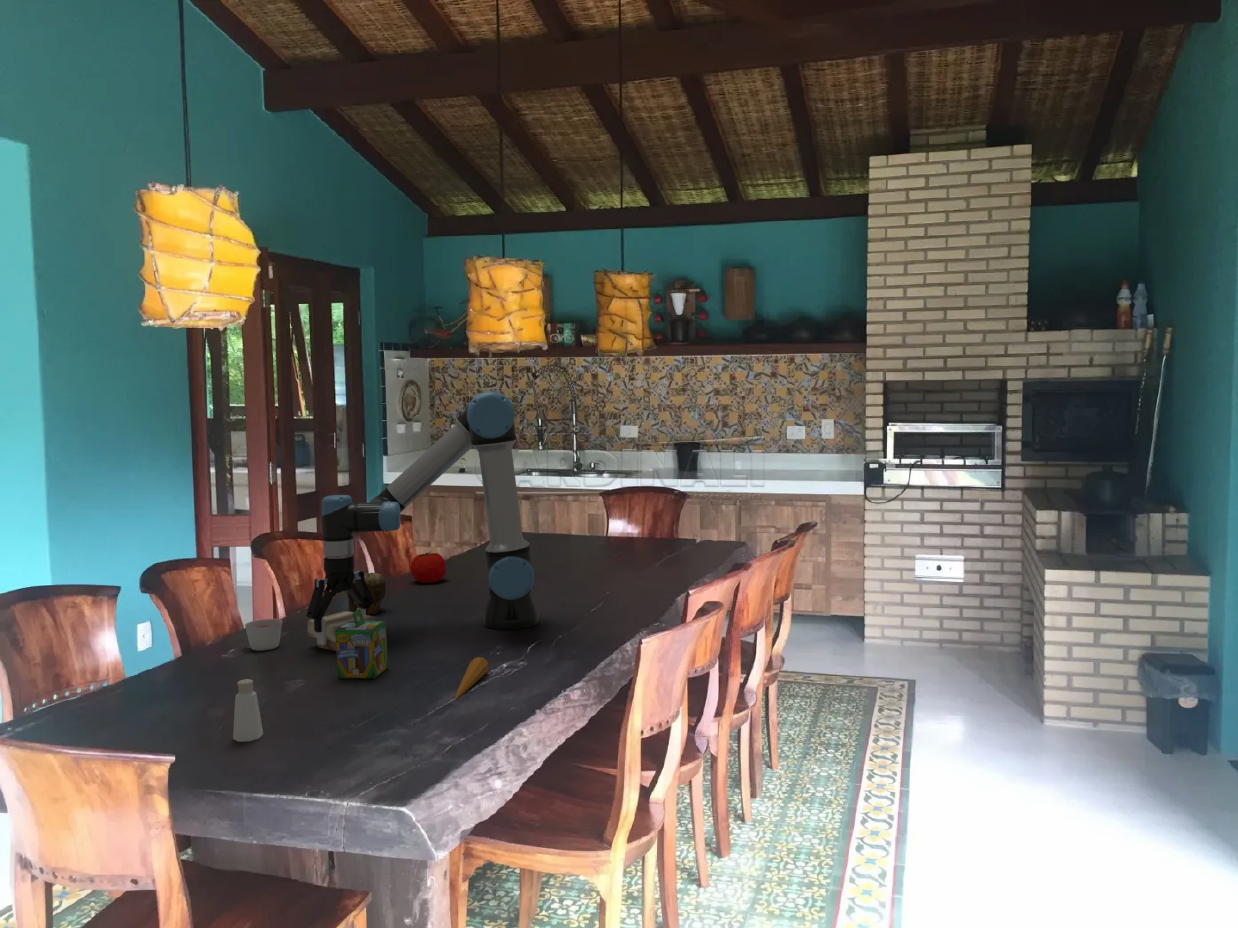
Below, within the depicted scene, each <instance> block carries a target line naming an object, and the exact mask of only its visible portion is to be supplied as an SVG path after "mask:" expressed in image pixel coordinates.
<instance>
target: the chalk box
mask: <svg viewBox="0 0 1238 928" xmlns="http://www.w3.org/2000/svg"><path fill="white" fill-rule="evenodd" d="M357 615H359V616H360V621H357ZM353 618H354V621H349V622H347V623H345V624H344V625H342V626H340V627H339V628H337V629H336V630H335V636H336V651H335V653H336V667H337V679H338V680H339V679H374V680H375V679H376V678H377V677H378V676H380V675H381V674H383V672H385V671H386V670H387V669H388V668H389V666H388V663H389V662H388V645H387V643H388V642H387V622H386V621H383V620H382V621H381V620H376V621H364V619H363V615H362V613H361V610H360V609H358V610H357V611H355V612H354V613H353Z"/></svg>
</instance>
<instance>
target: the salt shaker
mask: <svg viewBox="0 0 1238 928" xmlns="http://www.w3.org/2000/svg"><path fill="white" fill-rule="evenodd" d="M236 684H237V690H238V693H237V694H236V695H235V699H234V715H233V716H234V717H233V735H232V736H233V737H232V739H233V740H234V741H236V742H238V743H240V742H241V743H243V742H253V741H255V740H259V739H261V737H262V736H263V735H264V730H263V725H262V719H261V713H260V706H259V700H258V695H257V692H256V691H254V685H253V684H254V680H253V679H250V678H246V679H241V680H239V681H238V682H237V683H236Z"/></svg>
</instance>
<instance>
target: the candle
mask: <svg viewBox="0 0 1238 928" xmlns="http://www.w3.org/2000/svg"><path fill="white" fill-rule="evenodd" d="M282 626H283V620H282V619H278V618H264V619H263V618H262V619H256V620H252V621H249V622H247V623H245V624H244V628H245V631H246V635H247V640H248V643H249V647H250V649H251V650H253V651H258V652H259V651H269V650H273V649H276V648H278V647H279V645H280V641H281V633H282Z"/></svg>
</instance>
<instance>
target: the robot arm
mask: <svg viewBox="0 0 1238 928" xmlns="http://www.w3.org/2000/svg"><path fill="white" fill-rule="evenodd" d="M516 442H517V434H516V425H515V409H514V406H513V404H512V402H511V400H510V399H509V398H508V397H507V396H506V395H505V394H504V393H501V392H499V391H495V390H486V391H483V392H482V391H481V392H480V393H477V395H475V396H474V397H473V398H472V399H471V400H470V402H469V404H468V406H466V408H465V410H464V411H463V412H462V413H461V414H460V415H458V417H457V418H456V419H455V424H454V426H452V427H451V428H450V429H449V430H448V431H447V432H446V433H445V434H443V436H441V437H440V438H439V439H438V440H437V441H436V442H435V443H433V444H432V445H431V446H430V447H429V448H428V449H427V450H426V451H425V452H424V453H422V454H421V456H419V457H418V458H417V459H416V460H415V461H414V462H413V463H412V464H410V465H409V466H408V467H407V468H406V469H405V470H404V471H403V472H402V473H400V474H399V475H398V477H396V478H395V479H394V480H393V481H392V482H391V483H389V484H388V486H386V487H385V488H384V489H382V491H381V492H380V493H379V494H378V495H376V496H375V497H374V498H372V499H371V500H370V502H353V499H352V497H351V495H349V494H334V495H327V496H324V497H323V498H322V499H321V514H320V516H321V530H322V551H323V553H322V554H323V556H325V557H324V558H323V571H324V573H325V576H324V578H322V579H320V578H315V579H314V584H313V585H314V588H313V592H312V596H311V598H310V600H309V601H310V602H309V605H308V609H307V612H306V618H308V619H311V620H312V619H313V620H314V630H315V632H317V638H316V645H317V644H321V645H326V625H325V619H322V618H323V617H324V616H325V614H326V612H327V611H328V608H329V606H330V604H331V602H332V600H333V598H334V597H335V596H336V595H337V594H340V593H342V592H347V591H348V592H349V594H350V595H351V596H352V598H353V599H354V600H355V601H356V603H357V604H358V605H359V607H360V608H357V610H358V609H360V610H361V613H362V614H364V615H368V609H369V608H370V607H371V606H370V605H371V604H373V603H374V600H373V598H372V596H371V593H370V591H369V589H368V586H367V584H366V581H365V578H364V573H365V572H364V571H362V570H357V569H356V570H355V568H356V567H355V556H354V555H353V554H354V553H355V548H354V547H355V546H354V533H361V532H362V533H363V532H364V533H366V532H367V533H368V532H373V533H374V532H385V533H388V532H392V531H398V530H399V529H400V527H401V518H402V517H401V516H402V515H401V513H402V512H403V511H404V510H405V509H406V508H407V507H408V506H409V505H411V504H412V503H413V501H415V500H416V499H417V498H418V497H419V496H420V495H422V493H424V492H425V491H426V490H428V488H429V487H430V486H431V485H433V484H434V483H435V482H436V481H437V480H438V479H439V478H441V476H442V475H444V473H446V472H447V471H449V469H450V468H451V467H452V466H454V465H455V464H456V463H457V462H458V461H459V460H461V458H463V456H465V454H467V453H468V452H469V451H470V450H471V449H472V448H474V449H475V450H476V451H477V452H478V459H479V465H480V474H481V481H482V490H483V497H484V503H485V511H486V519H487V526H488V527H487V528H488V537H489V544H488V545H487V546H486V548H485V558H486V565H487V573H488V575H487V577H488V578H487V580H488V600H487V604H486V607H485V613H484V614H483V625H484V627H485V628H489V629H493V630H503V631H505V630H519V629H520V630H521V629H526V628H527V629H528V628H531V627H534V626H536V625H537V624H538V623H539V613H538V611H537V610H536V605H535V601H534V600H533V596H532V587H533V586H534V582H535V579H536V575H535V570H534V569H533V561H532V553H531V551H532V549H531V545H530V542H529V541H527V540H526V539H525V538H524V537H523V535H524V534H523V527H522V520H521V511H520V504H519V496H518V488H517V480H516V473H515V465H514V457H513V446H514V445H515V443H516ZM354 570H355V571H354ZM354 579H355V581H356V584H357V586H358V588H359V591H360V593H361V594H360V593H359V592H358V590H357V589H356V586H355V585H354V584H353V580H354ZM361 595H362V596H361Z"/></svg>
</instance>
